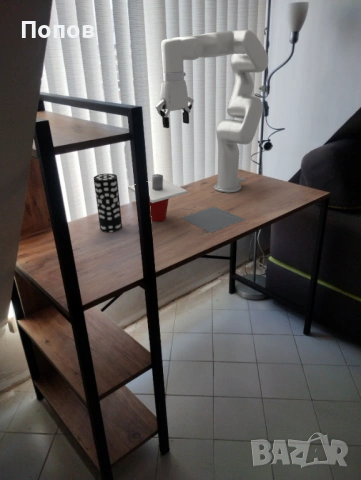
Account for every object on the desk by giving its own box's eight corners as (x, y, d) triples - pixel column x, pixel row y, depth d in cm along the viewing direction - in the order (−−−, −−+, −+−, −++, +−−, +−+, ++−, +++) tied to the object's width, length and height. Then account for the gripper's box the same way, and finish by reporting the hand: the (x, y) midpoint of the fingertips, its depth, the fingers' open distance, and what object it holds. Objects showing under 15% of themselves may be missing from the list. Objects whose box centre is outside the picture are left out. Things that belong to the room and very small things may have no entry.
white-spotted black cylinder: (122, 231, 144) (117, 179, 135) (99, 233, 143) (93, 181, 134) (121, 222, 151) (116, 172, 142) (100, 224, 150) (93, 174, 141)
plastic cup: (160, 227, 146) (158, 197, 140) (139, 221, 152) (137, 192, 146) (178, 218, 153) (177, 189, 148) (157, 212, 159) (155, 184, 154)
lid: (162, 180, 157) (162, 166, 154) (187, 193, 146) (187, 178, 143) (128, 188, 148) (127, 173, 145) (152, 202, 137) (152, 187, 134)
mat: (213, 207, 163) (213, 206, 162) (245, 220, 150) (245, 219, 150) (180, 218, 153) (180, 217, 153) (211, 233, 140) (211, 232, 140)
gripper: (185, 74, 147) (187, 120, 155) (148, 79, 137) (152, 128, 146) (198, 75, 142) (199, 122, 150) (160, 80, 132) (164, 131, 140)
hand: (176, 125), depth 148 cm, fingers open, 9 cm apart
